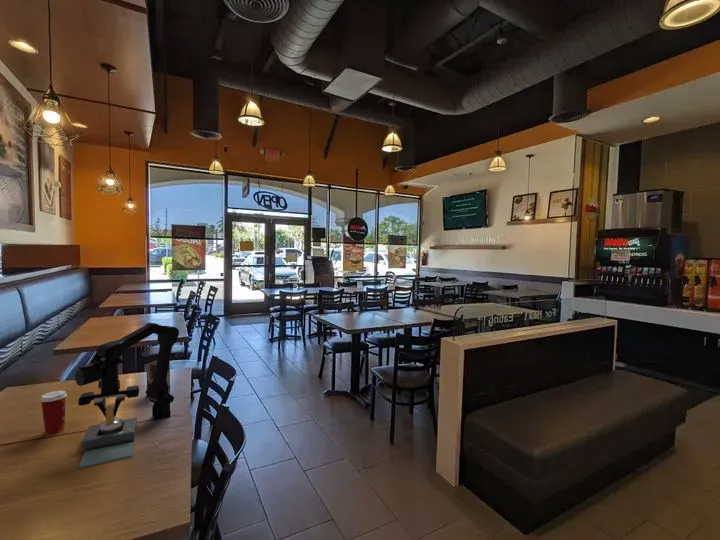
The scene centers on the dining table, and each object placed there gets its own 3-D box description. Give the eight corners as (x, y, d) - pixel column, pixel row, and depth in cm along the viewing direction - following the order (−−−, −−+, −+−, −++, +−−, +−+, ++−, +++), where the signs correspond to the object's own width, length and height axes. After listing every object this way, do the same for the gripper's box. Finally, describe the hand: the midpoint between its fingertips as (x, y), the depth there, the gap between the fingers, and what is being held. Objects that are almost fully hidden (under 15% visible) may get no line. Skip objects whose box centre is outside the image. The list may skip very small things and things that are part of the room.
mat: (134, 443, 135) (134, 441, 135) (131, 456, 127) (131, 455, 126) (84, 453, 128) (84, 451, 128) (78, 468, 119) (78, 466, 119)
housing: (137, 426, 148) (136, 417, 147) (134, 441, 136) (134, 431, 136) (89, 435, 140) (88, 426, 140) (82, 452, 129) (81, 441, 128)
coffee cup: (72, 428, 146) (71, 392, 145) (48, 437, 139) (46, 399, 138) (61, 423, 150) (59, 388, 149) (36, 432, 142) (35, 395, 141)
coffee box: (170, 392, 183) (170, 361, 182) (160, 397, 177) (159, 365, 176) (157, 390, 186) (156, 359, 185) (146, 394, 180) (145, 363, 179)
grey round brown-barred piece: (123, 423, 143) (122, 401, 142) (121, 431, 137) (120, 408, 136) (101, 427, 140) (100, 405, 139) (98, 436, 133) (97, 412, 133)
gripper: (139, 367, 148) (140, 404, 149) (83, 374, 140) (85, 413, 141) (137, 375, 139) (138, 415, 140) (77, 383, 130) (78, 425, 131)
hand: (110, 416), depth 138 cm, fingers closed on grey round brown-barred piece, 2 cm apart
